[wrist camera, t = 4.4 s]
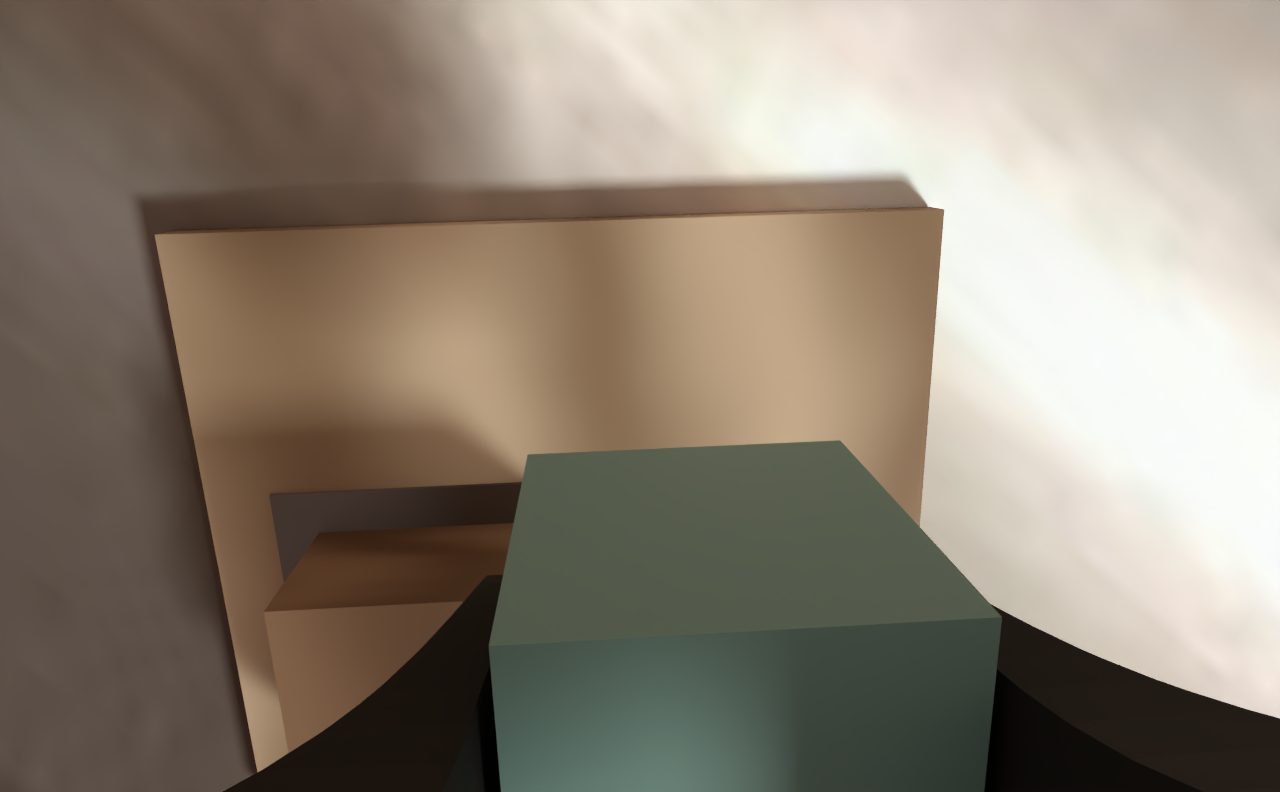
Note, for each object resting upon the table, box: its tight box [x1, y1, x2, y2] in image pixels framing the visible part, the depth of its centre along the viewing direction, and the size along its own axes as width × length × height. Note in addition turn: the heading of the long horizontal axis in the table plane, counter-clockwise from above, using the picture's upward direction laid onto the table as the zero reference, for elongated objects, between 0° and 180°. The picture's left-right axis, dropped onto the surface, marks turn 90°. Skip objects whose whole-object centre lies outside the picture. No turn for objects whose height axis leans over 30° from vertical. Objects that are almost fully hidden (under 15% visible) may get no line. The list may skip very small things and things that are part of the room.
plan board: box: [155, 207, 944, 772], centre depth 21 cm, size 17×15×1 cm
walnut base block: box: [264, 523, 514, 753], centre depth 19 cm, size 6×6×4 cm
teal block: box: [489, 440, 1002, 792], centre depth 10 cm, size 5×5×5 cm
